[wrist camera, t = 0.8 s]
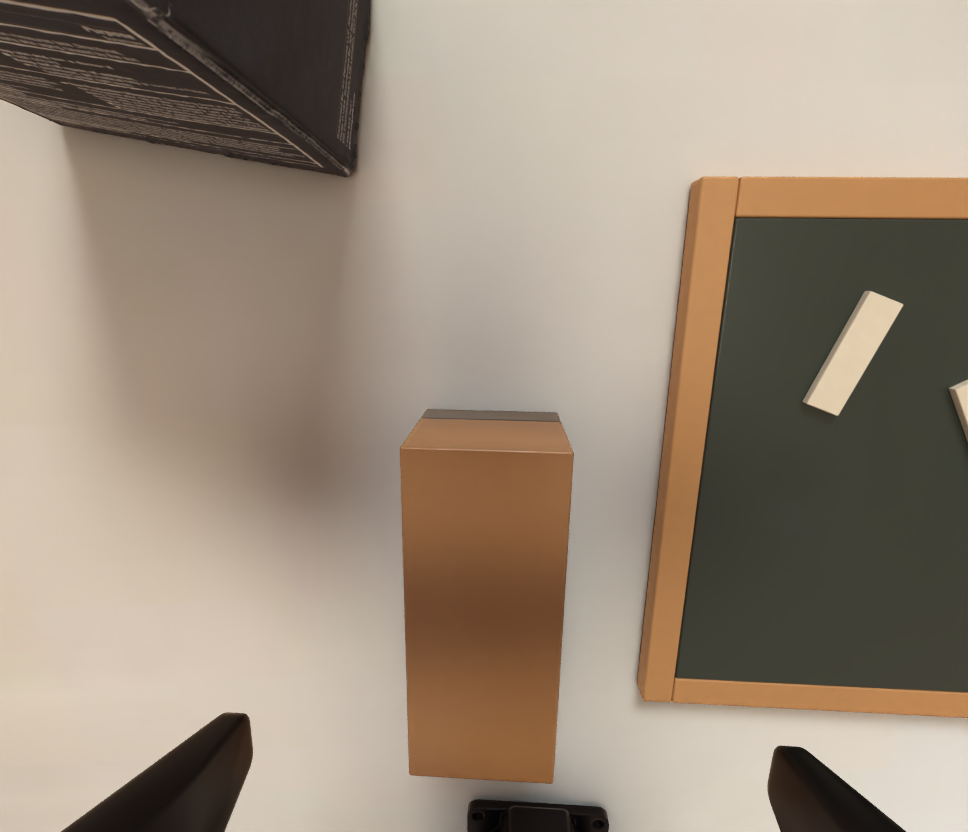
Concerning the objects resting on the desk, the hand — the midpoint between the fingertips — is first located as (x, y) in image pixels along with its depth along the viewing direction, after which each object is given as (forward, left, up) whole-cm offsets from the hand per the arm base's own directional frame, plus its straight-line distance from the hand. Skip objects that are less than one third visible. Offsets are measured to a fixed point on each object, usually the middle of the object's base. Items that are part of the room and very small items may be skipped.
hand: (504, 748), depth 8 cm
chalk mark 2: (+6, -11, -10) cm, 16 cm away
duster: (-3, +1, -11) cm, 12 cm away
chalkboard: (+1, -14, -11) cm, 18 cm away
